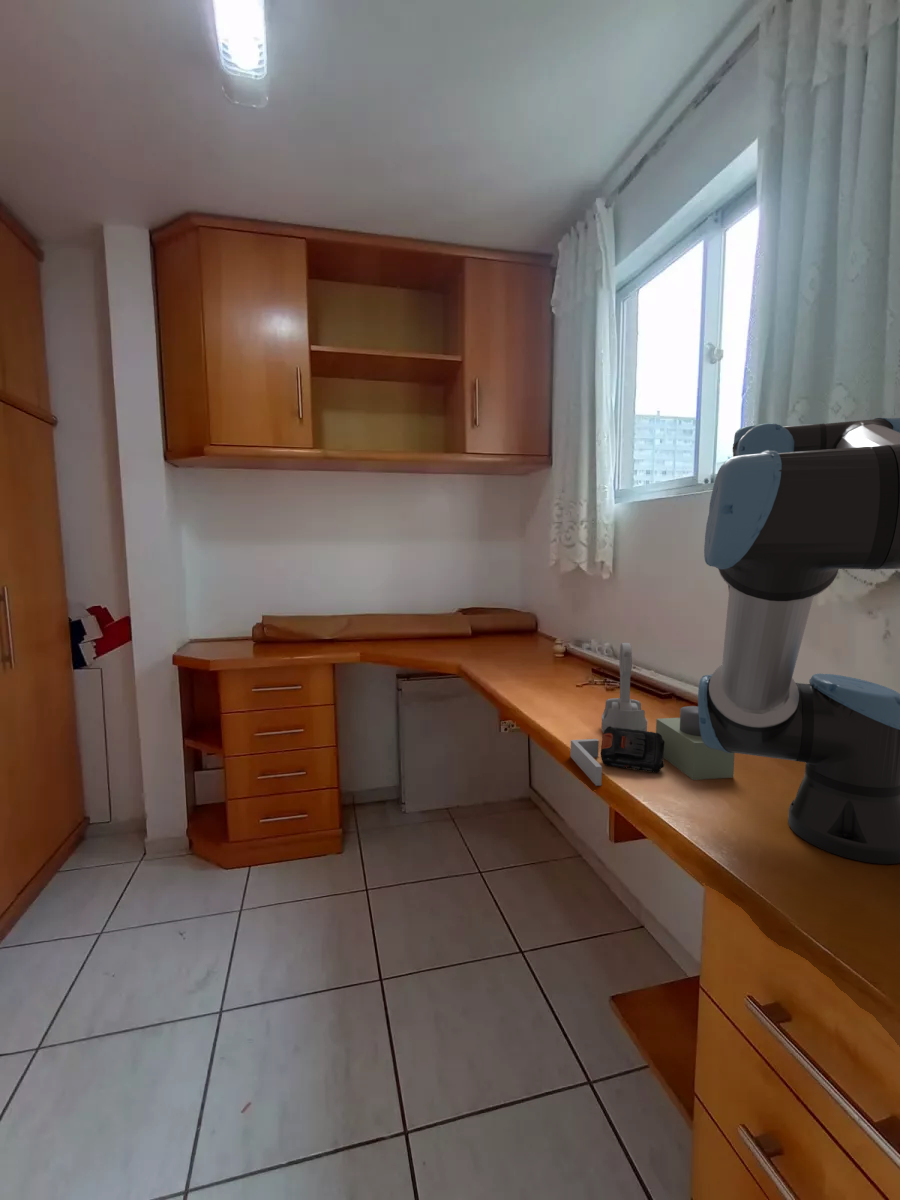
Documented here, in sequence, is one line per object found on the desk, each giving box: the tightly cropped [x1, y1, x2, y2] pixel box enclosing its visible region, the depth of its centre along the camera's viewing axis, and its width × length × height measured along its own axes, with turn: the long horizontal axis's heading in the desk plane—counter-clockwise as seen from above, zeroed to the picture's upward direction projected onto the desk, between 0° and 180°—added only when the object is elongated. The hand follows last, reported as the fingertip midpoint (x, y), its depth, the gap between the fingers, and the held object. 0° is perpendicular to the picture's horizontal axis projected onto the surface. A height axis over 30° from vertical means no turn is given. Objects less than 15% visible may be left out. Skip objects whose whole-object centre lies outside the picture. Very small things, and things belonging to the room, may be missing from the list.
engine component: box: [601, 642, 648, 734], centre depth 126 cm, size 11×20×10 cm
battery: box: [600, 726, 665, 774], centre depth 107 cm, size 12×8×7 cm
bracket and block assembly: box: [570, 705, 736, 787], centre depth 106 cm, size 14×26×11 cm, turn 97°
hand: (746, 646), depth 100 cm, fingers closed
